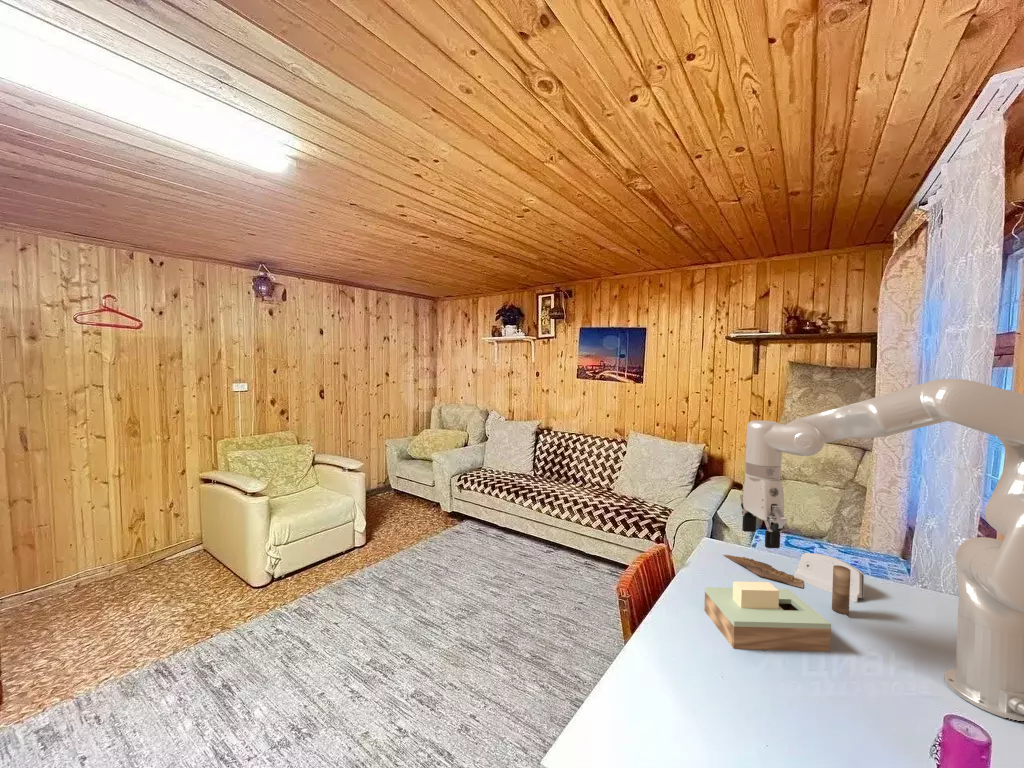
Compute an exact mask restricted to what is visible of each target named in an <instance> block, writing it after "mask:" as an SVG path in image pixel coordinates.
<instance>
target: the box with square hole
mask: <svg viewBox="0 0 1024 768" xmlns="http://www.w3.org/2000/svg"><path fill="white" fill-rule="evenodd" d="M779 606H780V607H781V608H782V609H783V610H794V611H799V610H798V609H796V608H795V607H794V606H793V605H792V604H779ZM703 611H704V612H705V613H706V615H707V616H708V617H709V619H710V620H711V622H712V623H713V624H714V625H715V627H716V628H717V629H718V630H719V632H720V634H721V635H722V636H723V637H724V638H725V640H727V642H728V644H729V645H730V646H731V648H732V649H733V650H735V649H738V650H764V651H766V650H767V651H768V650H769V651H771V650H772V651H773V650H774V651H807V652H808V651H809V652H810V651H811V652H814V651H815V652H831V633H832V628H831V629H816V628H776V627H735V626H733V624H732V623H731V622H730V621H729V620H728V618H727V617H726V616H725V615H724V614H723V613H722V611H721V610H720V609H719V608H718V607H717V605H716V604H715V603H714V602H713V601H712V599H711V598H710V597H709V596H708V595H707V593H706V592H705V591H704V609H703Z"/></svg>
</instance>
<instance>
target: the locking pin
mask: <svg viewBox="0 0 1024 768" xmlns="http://www.w3.org/2000/svg"><path fill="white" fill-rule="evenodd" d="M850 572H851V570H850V569H848V568H846V567H843V566H839V565H835V566H833V589H832V593H831V596H832V597H831V610H832V611H833V612H834V613H836V614H839V615H842V616H847V617H848V618H849V616H850V600H849V598H850Z"/></svg>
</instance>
